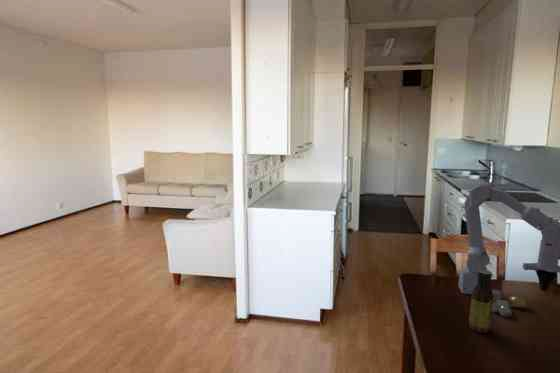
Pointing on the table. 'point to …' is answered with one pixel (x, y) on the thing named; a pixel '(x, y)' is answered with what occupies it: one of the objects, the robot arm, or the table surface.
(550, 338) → the table surface
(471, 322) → the sauce bottle
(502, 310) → the valve body
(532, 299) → the table surface
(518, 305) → the coupling
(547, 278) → the robot arm
